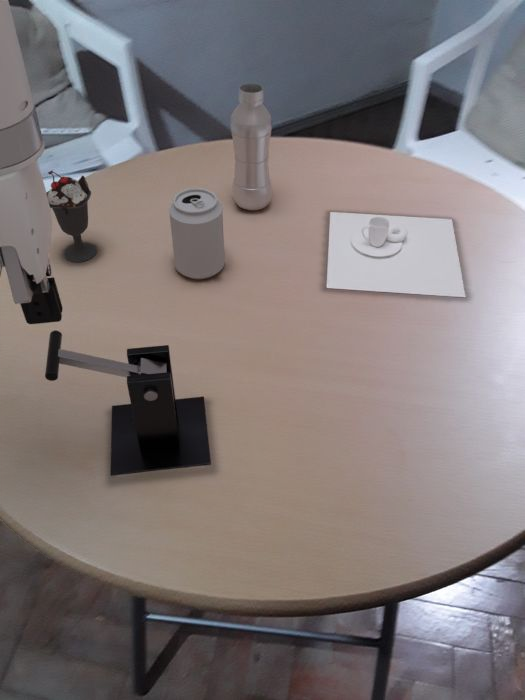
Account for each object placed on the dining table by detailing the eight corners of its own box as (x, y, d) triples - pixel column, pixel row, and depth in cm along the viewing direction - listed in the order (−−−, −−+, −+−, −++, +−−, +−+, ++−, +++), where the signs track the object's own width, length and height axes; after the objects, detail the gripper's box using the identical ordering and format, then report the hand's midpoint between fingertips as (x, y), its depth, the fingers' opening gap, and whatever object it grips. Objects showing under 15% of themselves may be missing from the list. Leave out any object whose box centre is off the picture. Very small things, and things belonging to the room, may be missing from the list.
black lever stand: (112, 480, 75) (92, 405, 66) (113, 412, 82) (95, 335, 73) (211, 469, 76) (205, 393, 67) (204, 402, 83) (197, 326, 74)
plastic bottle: (260, 219, 112) (260, 101, 97) (225, 208, 114) (220, 91, 100) (278, 200, 116) (281, 85, 102) (244, 190, 118) (242, 75, 104)
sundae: (53, 265, 102) (30, 177, 92) (64, 239, 107) (43, 152, 97) (97, 266, 102) (78, 178, 92) (106, 240, 107) (89, 153, 97)
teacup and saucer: (405, 231, 109) (409, 209, 107) (408, 261, 104) (412, 239, 101) (350, 227, 110) (353, 206, 107) (350, 257, 104) (353, 235, 101)
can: (207, 246, 106) (203, 178, 98) (234, 270, 102) (232, 201, 93) (165, 263, 103) (157, 194, 95) (192, 289, 99) (186, 219, 90)
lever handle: (42, 383, 66) (48, 367, 64) (47, 341, 70) (52, 324, 69) (160, 406, 71) (167, 391, 69) (158, 365, 75) (165, 350, 73)
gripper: (-45, 95, 56) (14, 272, 69) (-85, 192, 45) (-7, 379, 58) (48, 89, 57) (89, 265, 70) (30, 183, 46) (82, 370, 59)
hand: (45, 317), depth 64 cm, fingers closed
